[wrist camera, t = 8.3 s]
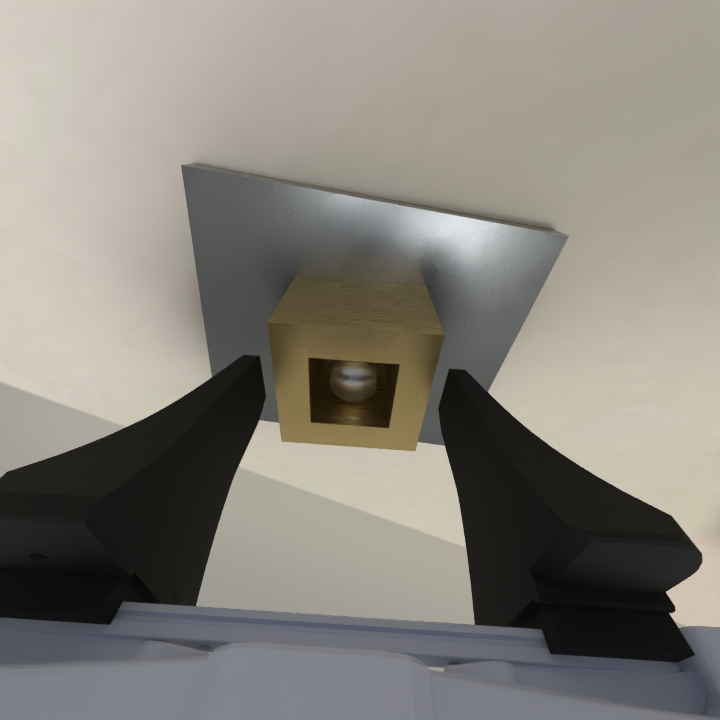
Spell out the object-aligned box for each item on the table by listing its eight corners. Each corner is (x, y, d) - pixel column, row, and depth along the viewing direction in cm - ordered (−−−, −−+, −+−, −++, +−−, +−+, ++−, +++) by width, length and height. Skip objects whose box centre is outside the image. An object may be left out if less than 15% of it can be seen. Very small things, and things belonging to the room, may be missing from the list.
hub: (426, 286, 13) (444, 335, 9) (406, 387, 16) (415, 451, 12) (294, 276, 13) (267, 321, 9) (300, 379, 16) (281, 441, 12)
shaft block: (555, 230, 12) (622, 261, 9) (454, 434, 19) (471, 494, 16) (195, 163, 11) (122, 170, 8) (224, 402, 18) (191, 458, 15)
